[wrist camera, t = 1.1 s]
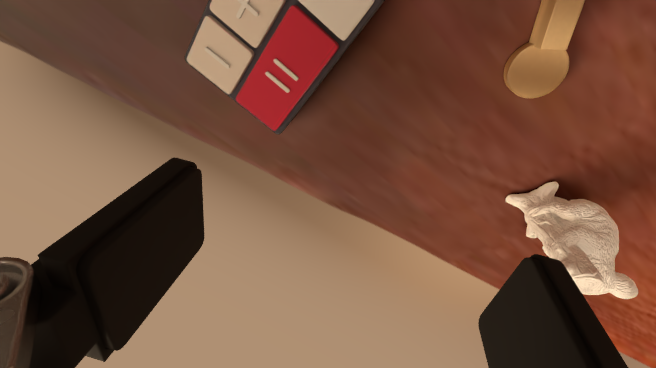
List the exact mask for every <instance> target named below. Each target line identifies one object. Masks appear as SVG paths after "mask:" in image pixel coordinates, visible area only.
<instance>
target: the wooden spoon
mask: <svg viewBox="0 0 656 368" xmlns="http://www.w3.org/2000/svg"><path fill="white" fill-rule="evenodd" d="M584 1H585V0H542V1H541V5H540V8H539V11H538V14H537V18H536V21H535V24H534V27H533V31H532V34H531V37H530V41H529V43H526V44H524V45H522V46H521V47H519V48H518V49H517V50H516V51H515V52H514V53H513V54H512V55H511V56H510V57H509V59H508V61H507V63H506V65H505V68H504V74H503V76H504V82H505V84H506V86H507V87H508V88H509V89H510V90H511V91H512V92H513V93H515V94H516V95H518V96H520V97H523V98H537V97H541V96H544V95H546V94H548V93H550V92H551V91H553V90H554V89H555V88H557V87H558V86H559V85H560V84H561V82H562V81H563V80H564V78H565V76H566V74H567V72H568V69H569V56H568V53H567V51H566V50H567V48H568V45H569V42H570V39H571V37H572V34H573V31H574V29H575V26H576V23H577V20H578V18H579V15H580V12H581V10H582V7H583V4H584Z"/></svg>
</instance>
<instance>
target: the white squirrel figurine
mask: <svg viewBox="0 0 656 368" xmlns="http://www.w3.org/2000/svg"><path fill="white" fill-rule="evenodd" d="M558 187H559V184H558V183H557V182H549V183H546V184H544V185H542V186H541V187H539V188H538V189H535V190H533V191H531V192H530V193H524V194H523V193H522V194H510V195H508V196H507V197H506V202H507V203H509V204H512V205H513V206H516V207H518V208H519V209H521V210H522V211H523V213H524V214H525V216H524V217H525V221H526V223H527V230H526V236H527V237H530V238H537V237H538V238H539V239H540V240H541V241H542V243H543V245H544V246H543V247H542V249H543V250H544V252H545V253H546V254H547V255H548V256H549V258H553V259H557V260H559V261H561V262H562V263H563V264H564V266H565V267H566V269H567V271H568V272H569V274H570V275H571V277H572V279H573V280H574V282H575V283H576V285H577V287H578V288H579V290H580V291H581V293H582V294H587V295H600V294H606V293H608V292H609V293H611V294H613V295H615V296H616V297H618V298H623V299H631V298H634V297H636V296H637V294H638V289H637V287H636V284H635V283H634V281H633V280H632V279H630V278H629V277H627V276H626V275H625V274H621V273H618V272H615V262H614V261H615V256H616V255H617V253H618V251H619V245H618V244H619V236H618V235H619V231H618V229H617V228H618V227H617V225H616V224H615V222H614V221H613V219H612V218H611V217H610V216H609V215H608V213H607V211H606V210H605V209H604V208H602V207H601V206H599V205H598V204H596V203H594V202H591V201H588V200H586V199H577V200H575V199H573V200H571V201H567V200H566V199H562V198H560V197H555V196H554V195H555V193H556V191H557V189H558Z"/></svg>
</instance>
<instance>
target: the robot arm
mask: <svg viewBox="0 0 656 368" xmlns="http://www.w3.org/2000/svg"><path fill="white" fill-rule="evenodd" d="M203 220H204V219H203V195H202V174H201V171H200V170H199V169H197V166H196V164H195V163H193V162H190V161H186V160H182V159H179V158H172V159H170V160H169V161H167V162H166V163H165V164H163V165H162V166H161V167H159V168H158V169H156V170H155V171H153V172H152V173H151V174H149V175H148V176H146V177H145V178H144V179H142V180H141V181H140V182H138V183H137V184H135V185H134V186H133V187H131V188H130V189H128V190H127V191H126V192H124V193H123V194H122V195H120V196H119V197H117V198H116V199H115V200H113V201H112V202H110V203H109V204H108V205H106V206H105V207H104V208H102V209H101V210H99V211H98V212H97V213H95V214H94V215H92V216H91V217H90V218H88V219H87V220H86V221H84V222H83V223H81V224H80V225H79V226H77V227H76V228H74V229H73V230H72V231H70V232H69V233H68V234H66V235H65V236H63V237H62V238H60V239H59V240H58V241H56V242H55V243H53V244H52V245H51V246H49V247H48V248H47V249H45V250H44V251H42V252H41V253H40V254H39V255H38V257H39V259H38V260H37V261H36V262H34V263H33V264H31V265H30V264H29V263H28V262H27V261H24V260H22V259H19V258H11V257H3V258H0V368H75V367H76V366H77V365H78V363H79V362H80V361H81V360H82V359H83V358H84V356H88V357H91V358H94V359H97V360H101V361H104V362H105V361H106V360H107V358H108V357H109V356H110V355H111V353H112V352H113V351H114V350H120V349H121V348H122V347H123V346H124V345H125V344H126V343H127V342H128V340H129V339H130V338H131V337H132V335H133V334H134V333H135V331H136V330H137V329H138V328H139V326H140V325H141V324H142V322H143V321H144V320H145V319H146V317H147V316H148V315H149V314H150V312H151V311H152V310H153V308H154V307H155V306H156V305H157V303H158V302H159V301H160V299H161V298H162V297H163V296H164V294H165V293H166V292H167V290H168V289H169V288H170V286H171V285H172V284H173V283H174V281H175V280H176V279H177V278H178V276H179V275H180V274H181V272H182V271H183V270H184V269H185V267H186V266H187V265H188V263H189V262H190V261H191V260H192V258H193V257H194V255H195V254H196V253H197V252H198V251H199V249H200V248H201V246H202V244H203V241H204V221H203ZM479 330H480V334H481V338H482V342H483V346H484V350H485V354H486V358H487V362H488V366H489V368H628V367H627V365H626V364H625V362H624V360H623V359H622V357H621V356H620V354H619V352H618V351H617V349H616V347H615V346H614V344H613V343H612V341H611V339H610V338H609V336H608V335H607V333H606V331H605V330H604V328H603V327H602V325H601V323H600V322H599V320H598V319H597V317H596V315H595V314H594V312H593V311H592V309H591V307H590V306H589V304H588V303H587V301H586V299H585V298H584V296H583V295H582V293H581V291H580V290H579V288H578V287H577V285H576V283H575V282H574V280H573V279H572V277H571V275H570V274H569V272H568V271H567V269H566V267H565V266H564V264H563V263H562V262H561V261H559V260H557V259H553V258H549V257H545V256H542V255H538V254H534V255H532V256H531V257H530V258H524V259H523V260H522V261H521V263H520V264H519V265H518V267H517V268H516V269H515V271H514V272H513V273H512V275H511V276H510V277H509V279H508V280H507V281H506V282H505V284H504V285H503V286H502V288H501V289H500V290H499V292H498V293H497V294H496V296H495V297H494V298H493V300H492V301H491V302H490V303H489V305H488V306H487V307H486V309H485V310H484V311H483V313H482V314H481V316H480V318H479Z"/></svg>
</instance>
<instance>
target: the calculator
mask: <svg viewBox="0 0 656 368" xmlns="http://www.w3.org/2000/svg"><path fill="white" fill-rule="evenodd" d="M384 1H385V0H209V1H208V3H207V6H206V8H205V10H204V12H203V15H202V17H201V19H200V22H199V24H198V26H197V29H196V31H195V33H194V36H193V38H192V40H191V43H190V45H189V47H188V50H187V52H186V54H185V61H186V62H187V63H188V64H189V65H190V66H191V67H193V68H194V69H195V70H196V71H198V72H199V73H200V74H201V75H203V76H204V77H205V78H206V79H208V80H209V81H210V82H211V83H213V84H214V85H215V86H216V87H218V88H219V89H220V90H221V91H223V92H224V93H225V94H227V95H228V96H229V97H230V98H232V99H233V100H234V101H235V102H237V103H238V104H239V105H240V106H242V107H243V108H244V109H245V110H247V111H248V112H249V113H250V114H252V115H253V116H254V117H255V118H257V119H258V120H259V121H260V122H262V123H263V124H264V125H265V126H267V127H268V128H269V129H270V130H272V131H273V132H274V133H276V134H281V133H282V132H283V131H284V129H285V128H286V127H287V126H288V125H289V123H290V122H291V121H292V120H293V118H294V117H295V116H296V114H297V113H298V112H299V111H300V109H301V108H302V107H303V105H304V104H305V103H306V101H307V100H308V99H309V98H310V96H311V95H312V94H313V92H314V91H315V90H316V89H317V87H318V86H319V85H320V83H321V82H322V81H323V80H324V78H325V77H326V76H327V74H328V73H329V72H330V70H331V69H332V68H333V67H334V65H335V64H336V63H337V61H338V60H339V59H340V58H341V56H342V55H343V54H344V52H345V51H346V50H347V49H348V47H349V46H350V45H351V43H352V42H353V41H354V40H355V38H356V37H357V36H358V34H359V33H360V32H361V31H362V29H363V28H364V27H365V25H366V24H367V23H368V22H369V20H370V19H371V18H372V16H373V15H374V14H375V13H376V11H377V10H378V9H379V7H380V6H381V5H382V3H383V2H384Z"/></svg>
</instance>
